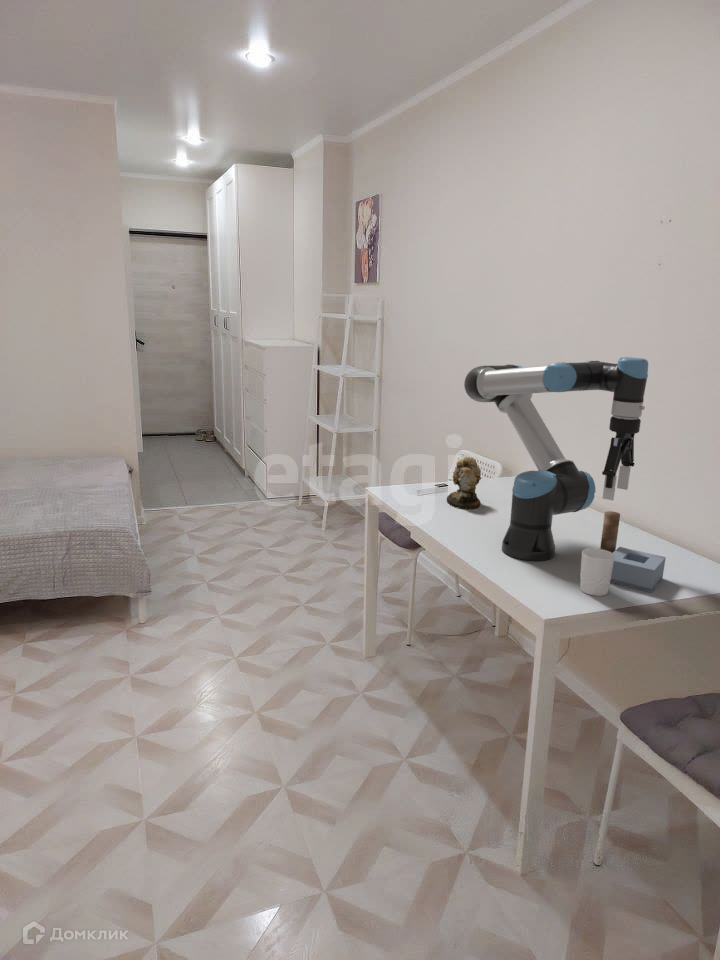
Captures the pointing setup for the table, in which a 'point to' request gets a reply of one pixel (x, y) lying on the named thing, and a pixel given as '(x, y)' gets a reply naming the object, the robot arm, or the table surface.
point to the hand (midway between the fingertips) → (615, 493)
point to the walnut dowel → (610, 531)
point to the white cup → (596, 571)
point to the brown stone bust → (465, 484)
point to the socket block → (637, 569)
